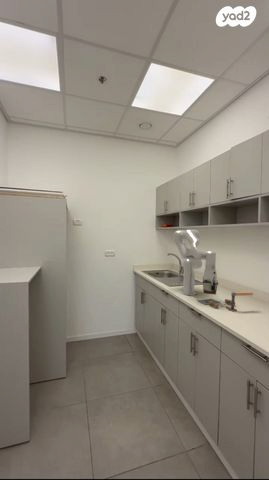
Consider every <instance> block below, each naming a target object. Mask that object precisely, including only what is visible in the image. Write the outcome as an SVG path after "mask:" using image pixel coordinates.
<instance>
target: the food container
mask: <svg viewBox="0 0 269 480" xmlns="http://www.w3.org/2000/svg"><path fill="white" fill-rule="evenodd" d="M202 285H203V286H202V288H203V289H202V291H203V292H202V294H204V295H216V294H217V291H218V286H219V281H218V282H217V284H216V285H215V290H214V291H212V290H211V285H212V283H211V282H209V281H206V280H203V279H202Z"/></svg>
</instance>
